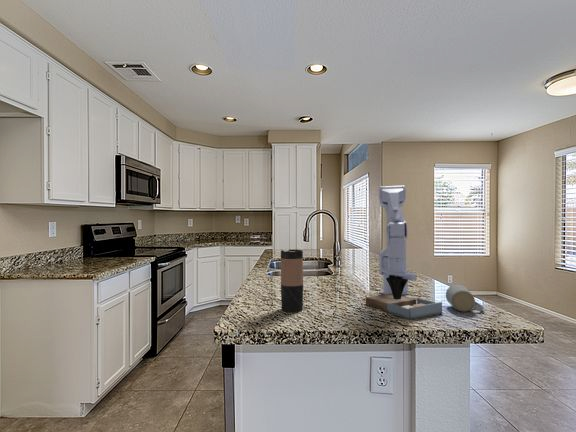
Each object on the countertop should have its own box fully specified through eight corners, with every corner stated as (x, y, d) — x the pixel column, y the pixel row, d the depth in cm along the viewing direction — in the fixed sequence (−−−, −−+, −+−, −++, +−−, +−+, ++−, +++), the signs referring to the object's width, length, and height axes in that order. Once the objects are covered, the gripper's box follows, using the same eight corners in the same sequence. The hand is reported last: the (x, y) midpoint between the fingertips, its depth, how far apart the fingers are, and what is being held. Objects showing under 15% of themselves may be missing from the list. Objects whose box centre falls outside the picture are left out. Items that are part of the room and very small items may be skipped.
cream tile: (419, 308, 103) (419, 313, 103) (408, 305, 107) (408, 310, 107) (409, 310, 101) (409, 315, 101) (398, 306, 105) (398, 311, 105)
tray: (418, 306, 113) (418, 296, 113) (442, 313, 105) (441, 302, 105) (387, 312, 107) (387, 301, 107) (410, 319, 98) (410, 308, 98)
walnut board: (392, 299, 123) (392, 293, 123) (416, 306, 113) (416, 299, 113) (365, 304, 117) (365, 297, 117) (388, 311, 107) (388, 304, 107)
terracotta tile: (433, 306, 105) (433, 311, 105) (421, 303, 109) (421, 308, 109) (423, 308, 103) (423, 313, 103) (412, 305, 107) (412, 309, 107)
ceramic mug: (452, 312, 106) (452, 288, 106) (445, 305, 114) (445, 283, 114) (488, 314, 104) (488, 290, 104) (478, 307, 112) (478, 285, 112)
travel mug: (301, 313, 106) (301, 251, 106) (278, 312, 108) (278, 251, 108) (305, 307, 114) (304, 249, 114) (283, 306, 115) (283, 249, 115)
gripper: (372, 256, 113) (372, 295, 113) (405, 261, 100) (405, 305, 100) (387, 255, 117) (388, 293, 116) (421, 259, 104) (421, 302, 104)
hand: (397, 299), depth 109 cm, fingers closed
